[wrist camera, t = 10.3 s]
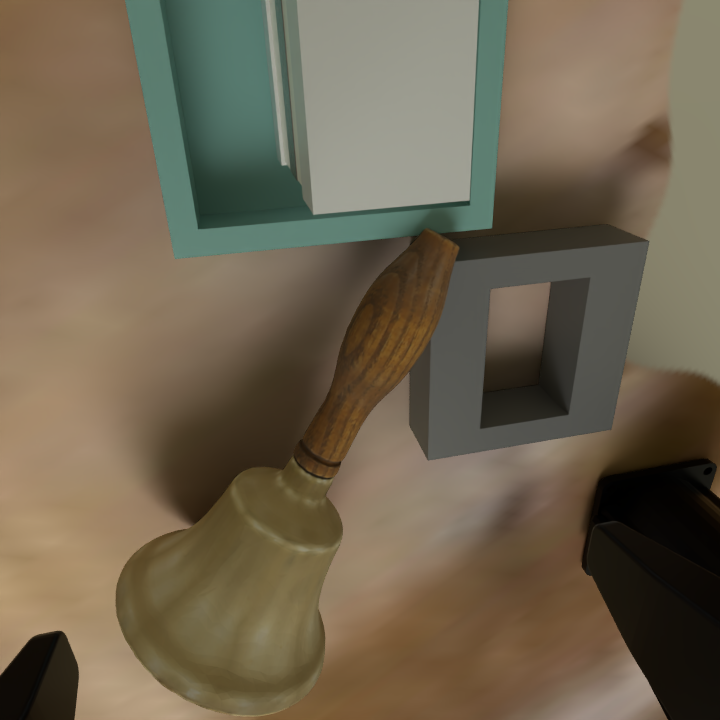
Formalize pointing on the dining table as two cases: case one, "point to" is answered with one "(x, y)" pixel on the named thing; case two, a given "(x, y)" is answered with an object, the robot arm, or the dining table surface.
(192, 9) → the parts tray
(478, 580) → the dining table surface
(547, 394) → the socket block
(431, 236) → the hand bell
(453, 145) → the block
